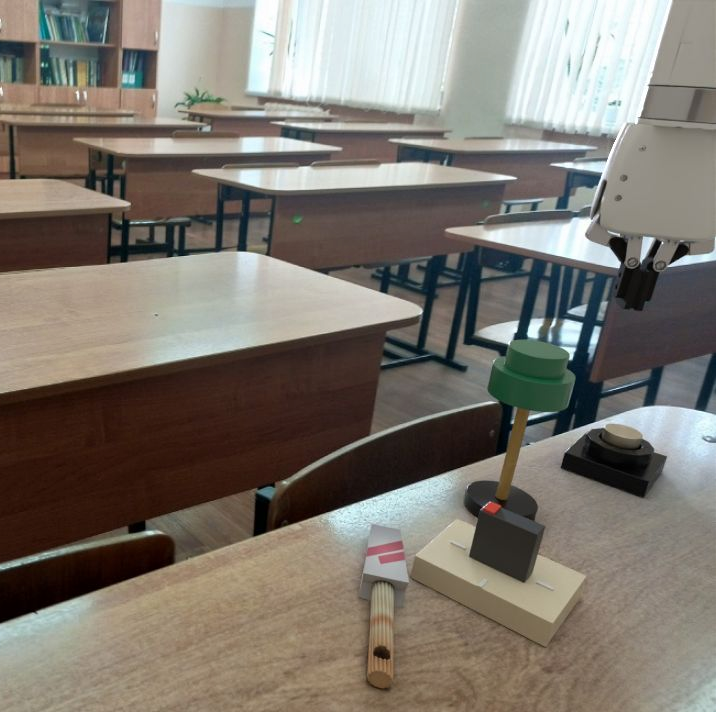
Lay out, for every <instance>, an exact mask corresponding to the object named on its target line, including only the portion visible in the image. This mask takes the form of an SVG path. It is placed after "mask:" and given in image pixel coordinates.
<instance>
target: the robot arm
mask: <svg viewBox="0 0 716 712" xmlns="http://www.w3.org/2000/svg"><path fill="white" fill-rule="evenodd" d="M647 75H648V76H647V79H646V83H645V86H644V90H643V93H642V96H641V101H640V104H639V108H638V110H637V115H636V117H635V122H624V123H623V125H622V126H621V129H620V130H619V132H618V135H617V137H616V138H615V139H616V140H615V142H614V143H613V145H612V148H611V151H610V152H609V156H608V158H607V161H606V164H605V166H604V169H603V171H602V174H601V177H600V179H599V182H598V185H597V188H596V190H595V194H594V197H593V200H592V204H591V207H590V211H589V218H590V220H591V222H590V224H589V225H588V227H587V229H586V230H585V233H584V237H585V238H586V239H587V240H588V241H590V242H593V243H595V244H598V245H600V246H604V247H606V248H609V249H610V250H611V252H612V253H613V255H615V257H616V258H617V260H618V262H620V264H619V268H618V271H617V273H616V274H617V275H616V278H615V282H614V285H613V288H612V297H613V298H615V303H616V304H617V305H618V306H619V307H620V308H621V309H622V310H632V309H633V310H634V312H635V311H637V312H642V311H643V310H644V307H645V304H646V302H648V303H649V302H650V301H651V300H652V298H653V295H654V292H655V288H656V285H657V282H658V279H659V276H660V273H661V272H664V271H666V270H667V268H668V267H669V266H670V265H672V264H674V263H675V262H677V261H679V260H680V259H682V258H683V257H686V256H699V255H701V256H702V255H710V254H712V253H713V252H714V250H715V248H716V244H715V243H716V0H669V1H668V4H667V8H666V12H665V15H664V18H663V21H662V25H661V30H660V33H659V36H658V40H657V44H656V47H655V50H654V55H653V58H652V61H651V65H650V67H649V72H648V74H647ZM644 238H652V242H651V244H650V245H649V248H648V250H647V252H646V254H645V256H644V258H643V259H642V260H641V257H642V248H643V242H644V241H643V240H644Z"/></svg>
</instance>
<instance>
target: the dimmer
mask: <svg viewBox="0 0 716 712" xmlns="http://www.w3.org/2000/svg"><path fill="white" fill-rule="evenodd" d="M475 529H476V525H473V524H470V523H469V522H465V521H463V520H461V519H458V518H456V519H454V521H452V523H450V524H449V525H448V526H447V527H446V528H445V529H443V530H442V531H441V532H440V533H439V534H438V535H436V536H435V538H433V539H432V540H431V541H430V542H428V544H426V545H425V546H424V547H423V548H422V549H421V550H419V551H418V552H417V553H416V554H415V555H414V559H413V564H412V568H411V573H410V579H412V580H414V581H416V582H418V583H420V584H423V585H424V586H426V587H428V588H430V589H432V590H433V591H436V592H438V593H439V594H442V595H444V596H445V597H447V598H449V599H451V600H453V601H455V602H457V603H458V604H461V605H463V606H465V607H466V608H468V609H470V610H472V611H474V612H477V613H478V614H480V615H482V616H484V617H486V618H488V619H490V620H492V621H493V622H496V623H497V624H499V625H502V626H504V627H505V628H507V629H509V630H511V631H513V632H515V633H517V634H519V635H521V636H523V637H525V638H526V639H529V640H531V641H533V642H534V643H536V644H538V645H540V646H541V647H544V648H546V647H547V646H548V645H549V643H550V642H551V640H553V638H554V636H555V635H556V633H557V632H558V631H559V630H560V627H561V626H562V625H563V623H564V622H565V621H566V619H567V617H568V616H569V615H570V613H571V612H572V611H573V609H574V608H575V606H576V604H578V602H579V600H580V598H581V596H582V593H583V590H584V586H585V584H586V579H587V577H588V576H587V575H585V574H584V573H581V572H579V571H576V570H574V569H572V568H569V567H567V566H566V565H562V564H560V563H558V562H557V561H553V560H552V559H549V558H547V557H545V556H543V555H540V554H538V555H537V559H536V562H535V566H534V569H533V573H532V574H531V575H530V577H529V578H528V579H527V580H526V581H525V582H522V581H520V580H518V579H516V578H513V577H511V576H509V575H507V574H505V573H503V572H501V571H499V570H496V569H494V568H492V567H490V566H488V565H486V564H484V563H482V562H479V561H477V560H475V559H473V558H471V557H469V554H470V549H471V545H472V541H473V537H474V533H475Z"/></svg>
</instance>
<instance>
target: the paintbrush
mask: <svg viewBox="0 0 716 712" xmlns="http://www.w3.org/2000/svg"><path fill="white" fill-rule="evenodd" d="M402 536H403V535H402V531H401V529H400V528H395V527H389V526H383V525H380V524H374V523H371V524H370V532H369V536H368V540H367V546H366V553H365V558H364V564H363V568H362V575H361V578H360V579H361V580H360V584H359V591H358V597H357V598H358V599H363V600H367V601H370V620H369V622H370V623H369V638H368V639H369V640H368V642H369V643H368V652H367V653H368V654H367V655H368V657H367V669H366V671H367V672H366V677H367V681H368V682H369V684H371V685H373V687H375V688H378V689H385V688H387V689H388V688H389V687H391V686H392V685H393V683H394V616H395V615H394V610H395V608H394V607H398V608H403V607H404V601H405V593H406V590H407V588H408V586H409V583H410V581H409V575H408V570H407V562H406V556H405V555H406V554H405V548H404V544H403V537H402Z"/></svg>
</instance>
